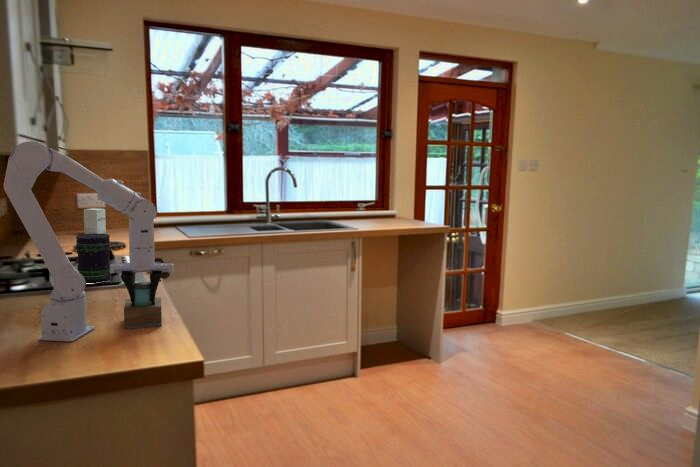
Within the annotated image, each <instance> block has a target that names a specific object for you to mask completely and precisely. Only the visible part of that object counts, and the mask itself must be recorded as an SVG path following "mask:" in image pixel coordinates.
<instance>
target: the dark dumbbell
mask: <svg viewBox="0 0 700 467" xmlns="http://www.w3.org/2000/svg"><path fill="white" fill-rule="evenodd" d="M154 258H155V263H165V262H164V260H163V259H162V258H161V257H154ZM170 274H171V273H169V272H163V274H162V276H161V279H163V280H166V279H168V278H169V277H170V276H171V275H170Z"/></svg>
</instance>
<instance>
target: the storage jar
mask: <svg viewBox="0 0 700 467" xmlns="http://www.w3.org/2000/svg"><path fill="white" fill-rule="evenodd" d="M110 237H111V236H110V234H108V233H102V234H84V233H83V234H78V235H76V237H75V238H76V243H75V247H76V254H77V267H76V268H77V269H78V271H79V273H80V274H81V275H82V276H83V277H84V279H85V282H86V283H96V282H102V281H108V280H111V281H112V278H111V276H112V275H111V274H112V273H110V265H111V264H112V263H111V262H110V259H111V258H110V253H111V242H110V241H111V240H110Z"/></svg>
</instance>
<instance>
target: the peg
mask: <svg viewBox="0 0 700 467" xmlns="http://www.w3.org/2000/svg"><path fill="white" fill-rule="evenodd" d="M134 305H135V307H136V306H152V302H151V283H150V281H137V282H135V283H134Z"/></svg>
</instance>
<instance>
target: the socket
mask: <svg viewBox="0 0 700 467" xmlns="http://www.w3.org/2000/svg"><path fill="white" fill-rule="evenodd" d="M162 319H163V318H162V297H155V300H154V301H153V302H152V306H136V307H135V305H134V302H131V299H130V298H128V299H125V302H124V306H123V320H124V321H123V324H124V327H123V328H124V330H130V329H131V330H132V329H144V328H145V329H146V328H157V327H162V326H163V324H162V321H163V320H162Z"/></svg>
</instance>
